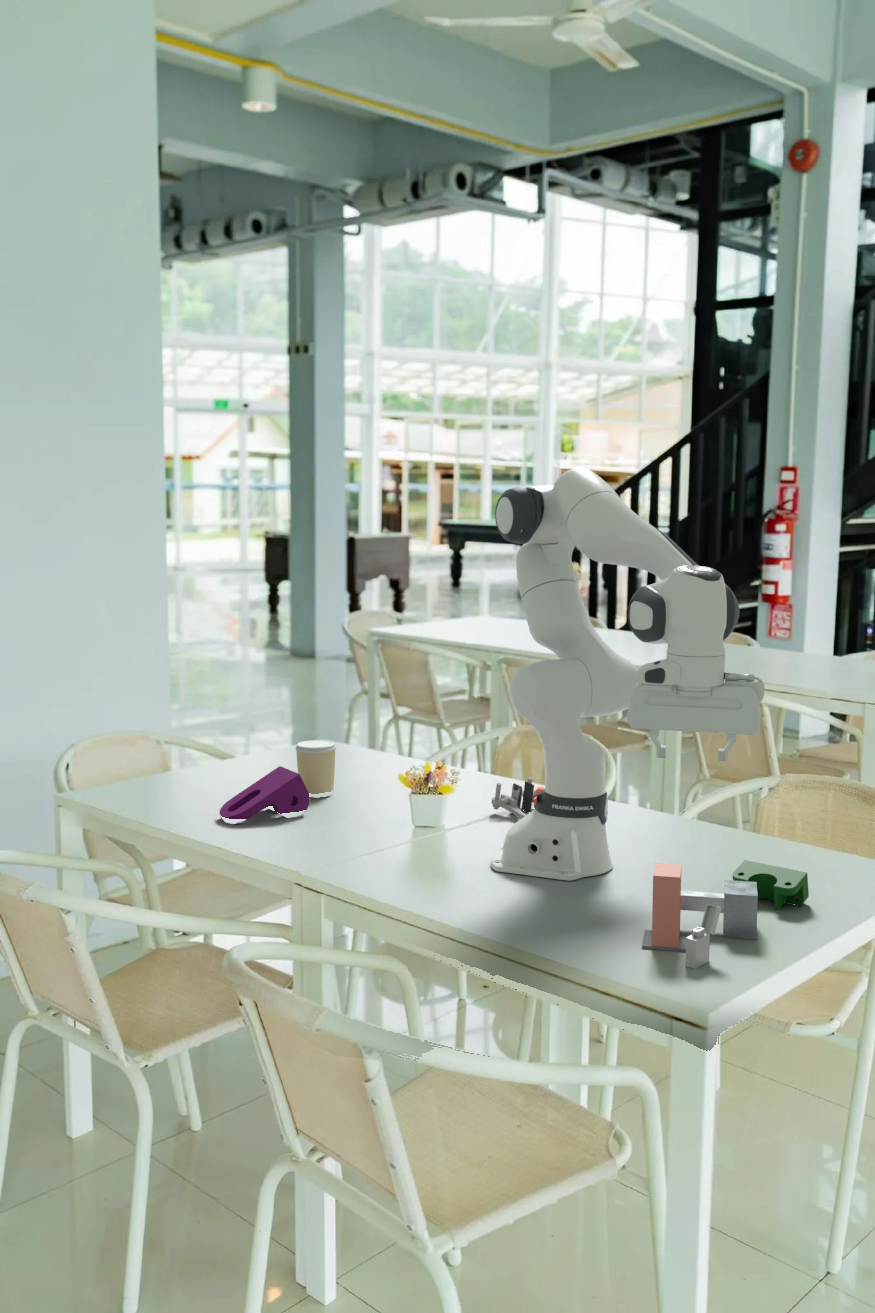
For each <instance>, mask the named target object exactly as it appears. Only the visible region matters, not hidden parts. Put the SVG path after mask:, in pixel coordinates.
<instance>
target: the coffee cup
mask: <svg viewBox="0 0 875 1313" xmlns="http://www.w3.org/2000/svg"><path fill="white" fill-rule="evenodd" d="M336 750H337V746H336V744H335V742H333V741H330V740H326V739H323V740H322V739H321V740H320V739H312V740H303V741H299V742H298V743H296V746H295V751H296V762H297V764H296V766H297V773H298V774H300V776H301V778H302V780H303V782H304V784H305V786H306V788H307V790H308V793H311V794H319V793H325V792H331V791H332V790H333V791H334V784H335V771H336V770H335V768H336Z"/></svg>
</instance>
